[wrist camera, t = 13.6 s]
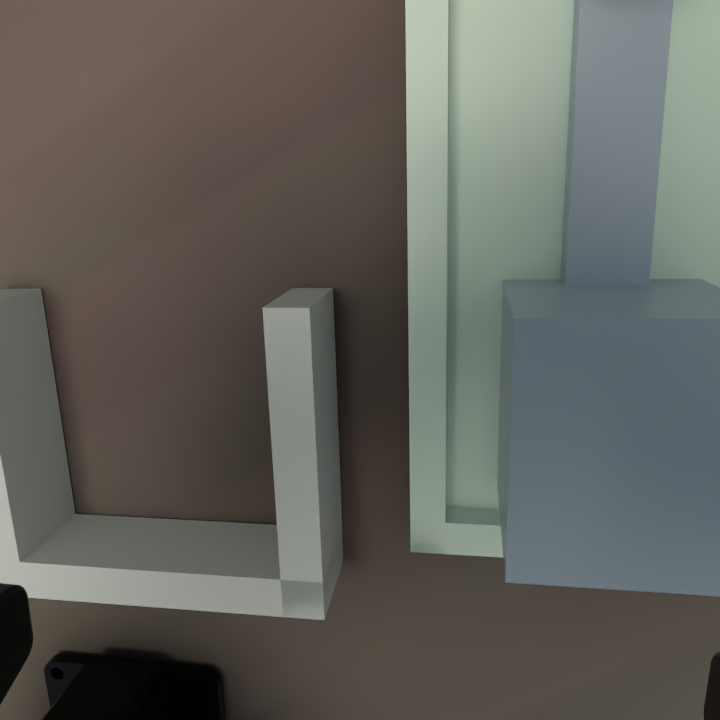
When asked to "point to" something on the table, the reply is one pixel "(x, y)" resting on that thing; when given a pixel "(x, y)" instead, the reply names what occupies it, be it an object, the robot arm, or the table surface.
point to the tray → (516, 220)
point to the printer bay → (174, 536)
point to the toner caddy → (611, 351)
